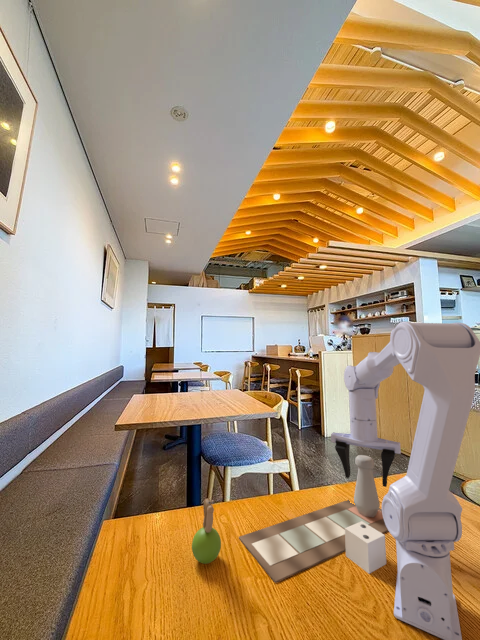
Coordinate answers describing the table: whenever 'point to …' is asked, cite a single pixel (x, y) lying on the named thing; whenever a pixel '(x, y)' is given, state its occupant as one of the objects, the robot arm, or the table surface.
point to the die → (365, 546)
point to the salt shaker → (366, 487)
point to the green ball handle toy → (206, 537)
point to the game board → (306, 539)
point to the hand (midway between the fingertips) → (365, 480)
